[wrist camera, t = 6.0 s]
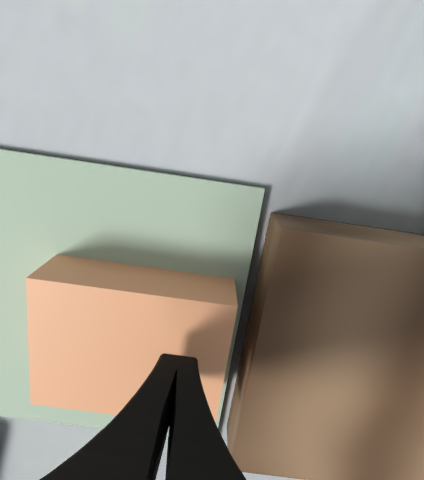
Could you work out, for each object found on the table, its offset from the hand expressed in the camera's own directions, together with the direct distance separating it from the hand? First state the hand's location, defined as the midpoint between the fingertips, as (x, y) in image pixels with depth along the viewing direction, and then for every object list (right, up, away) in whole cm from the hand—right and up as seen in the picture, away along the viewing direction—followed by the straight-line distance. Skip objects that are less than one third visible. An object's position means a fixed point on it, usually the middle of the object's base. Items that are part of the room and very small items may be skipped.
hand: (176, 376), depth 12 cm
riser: (+10, 0, +4) cm, 11 cm away
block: (-2, +1, +3) cm, 4 cm away
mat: (-4, +2, +3) cm, 6 cm away
